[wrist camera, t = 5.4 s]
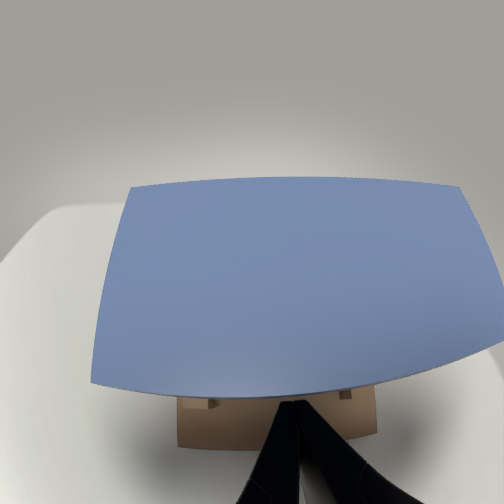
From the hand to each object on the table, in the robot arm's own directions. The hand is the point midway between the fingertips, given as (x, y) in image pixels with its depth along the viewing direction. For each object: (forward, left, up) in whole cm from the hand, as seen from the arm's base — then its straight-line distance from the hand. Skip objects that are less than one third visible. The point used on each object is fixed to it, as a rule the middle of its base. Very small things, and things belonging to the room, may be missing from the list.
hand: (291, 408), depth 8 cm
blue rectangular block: (+1, +2, -6) cm, 6 cm away
